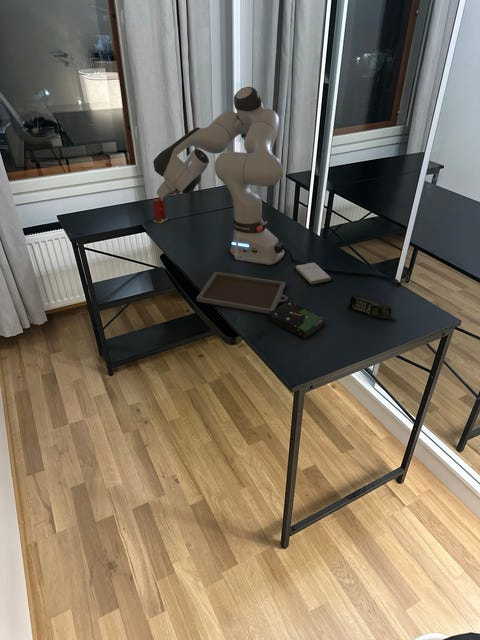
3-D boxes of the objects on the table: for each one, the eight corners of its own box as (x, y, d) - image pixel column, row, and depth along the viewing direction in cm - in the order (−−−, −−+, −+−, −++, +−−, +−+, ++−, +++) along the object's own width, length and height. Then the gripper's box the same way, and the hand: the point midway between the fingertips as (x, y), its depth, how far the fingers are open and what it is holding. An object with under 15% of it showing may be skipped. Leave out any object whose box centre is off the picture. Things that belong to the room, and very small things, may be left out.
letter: (166, 218, 206) (164, 198, 200) (159, 221, 203) (156, 201, 197) (162, 217, 207) (160, 197, 201) (155, 220, 204) (152, 200, 198)
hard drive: (310, 285, 157) (295, 269, 167) (330, 280, 160) (314, 265, 169) (311, 281, 156) (295, 265, 166) (331, 277, 159) (314, 261, 168)
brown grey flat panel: (214, 271, 162) (293, 283, 155) (214, 274, 163) (292, 287, 156) (195, 297, 148) (281, 312, 140) (196, 301, 148) (281, 316, 141)
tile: (168, 218, 206) (168, 218, 206) (160, 223, 202) (160, 223, 202) (160, 216, 208) (160, 216, 208) (152, 221, 204) (152, 221, 204)
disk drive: (268, 320, 140) (305, 339, 132) (268, 313, 138) (306, 331, 130) (287, 307, 146) (324, 324, 138) (288, 300, 145) (325, 317, 136)
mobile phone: (350, 296, 142) (395, 310, 135) (353, 292, 144) (398, 305, 137) (348, 309, 145) (392, 323, 138) (351, 305, 147) (395, 318, 140)
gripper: (195, 166, 189) (181, 183, 200) (162, 178, 176) (148, 196, 186) (204, 178, 189) (189, 195, 200) (171, 191, 176) (157, 208, 187)
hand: (169, 196), depth 193 cm, fingers open, 8 cm apart
